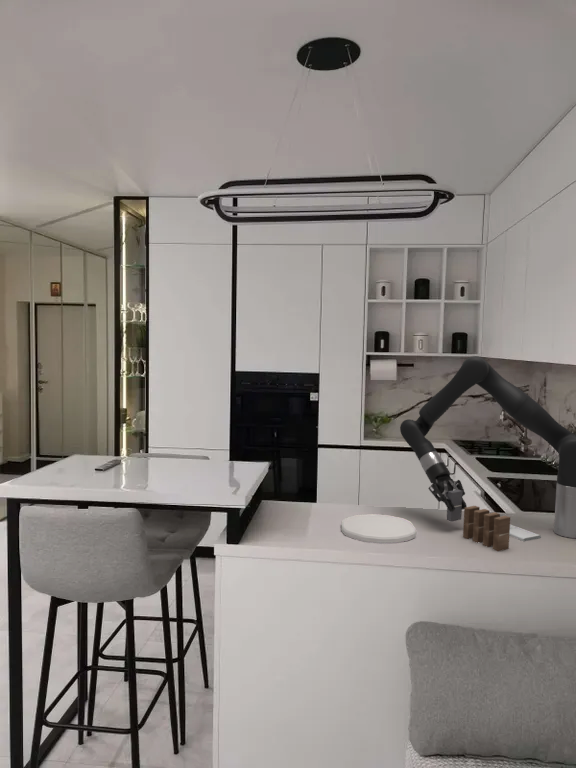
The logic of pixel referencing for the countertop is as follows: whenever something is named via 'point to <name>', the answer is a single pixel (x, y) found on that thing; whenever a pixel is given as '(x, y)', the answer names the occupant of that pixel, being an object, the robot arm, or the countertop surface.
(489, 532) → the domino
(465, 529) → the domino
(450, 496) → the domino
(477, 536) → the domino
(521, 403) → the robot arm
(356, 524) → the decorative plate
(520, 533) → the external hard drive
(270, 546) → the countertop surface
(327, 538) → the countertop surface
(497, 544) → the domino
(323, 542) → the countertop surface
